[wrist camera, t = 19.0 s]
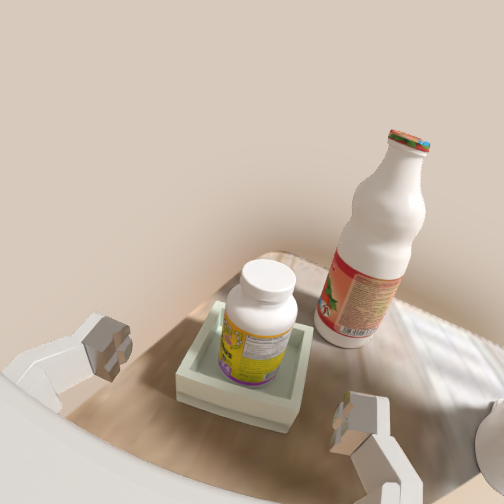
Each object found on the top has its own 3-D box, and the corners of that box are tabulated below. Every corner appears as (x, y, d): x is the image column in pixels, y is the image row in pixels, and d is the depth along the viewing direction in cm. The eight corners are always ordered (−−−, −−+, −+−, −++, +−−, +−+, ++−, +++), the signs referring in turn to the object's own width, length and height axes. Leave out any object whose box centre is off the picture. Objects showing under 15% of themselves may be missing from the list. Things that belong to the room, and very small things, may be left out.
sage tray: (303, 354, 39) (313, 327, 37) (286, 434, 29) (299, 410, 26) (213, 329, 41) (216, 300, 38) (176, 400, 31) (175, 373, 28)
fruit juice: (355, 361, 39) (443, 152, 25) (299, 325, 44) (358, 120, 30) (381, 327, 46) (452, 150, 31) (331, 298, 50) (385, 124, 36)
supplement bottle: (218, 342, 36) (231, 248, 30) (274, 347, 37) (300, 256, 30) (215, 389, 31) (229, 294, 24) (279, 393, 31) (313, 302, 25)
